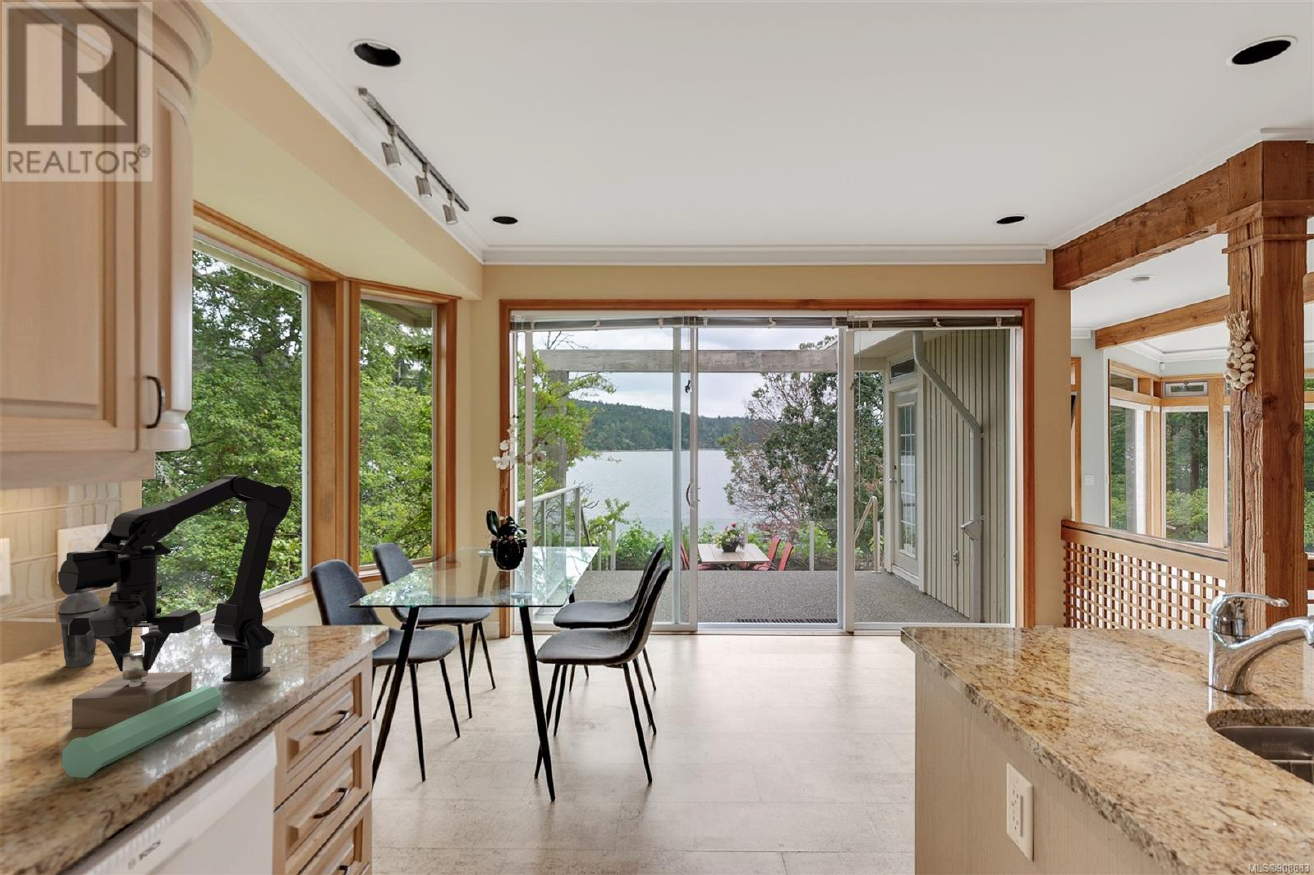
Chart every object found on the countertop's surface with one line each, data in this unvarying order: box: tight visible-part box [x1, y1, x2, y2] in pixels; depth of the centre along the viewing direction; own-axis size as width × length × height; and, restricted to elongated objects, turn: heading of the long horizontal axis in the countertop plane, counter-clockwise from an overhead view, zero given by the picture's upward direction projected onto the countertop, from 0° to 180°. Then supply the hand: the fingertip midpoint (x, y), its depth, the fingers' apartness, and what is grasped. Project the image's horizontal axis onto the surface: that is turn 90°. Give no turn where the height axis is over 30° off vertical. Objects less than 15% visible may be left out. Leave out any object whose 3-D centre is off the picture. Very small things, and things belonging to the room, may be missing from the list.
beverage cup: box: [57, 591, 103, 668], centre depth 141 cm, size 7×7×20 cm
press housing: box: [71, 671, 193, 730], centre depth 116 cm, size 12×12×5 cm
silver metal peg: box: [122, 650, 149, 687], centre depth 116 cm, size 4×4×8 cm
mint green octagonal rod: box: [61, 685, 223, 779], centre depth 107 cm, size 6×6×25 cm
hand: (135, 670), depth 116 cm, fingers closed on silver metal peg, 4 cm apart
